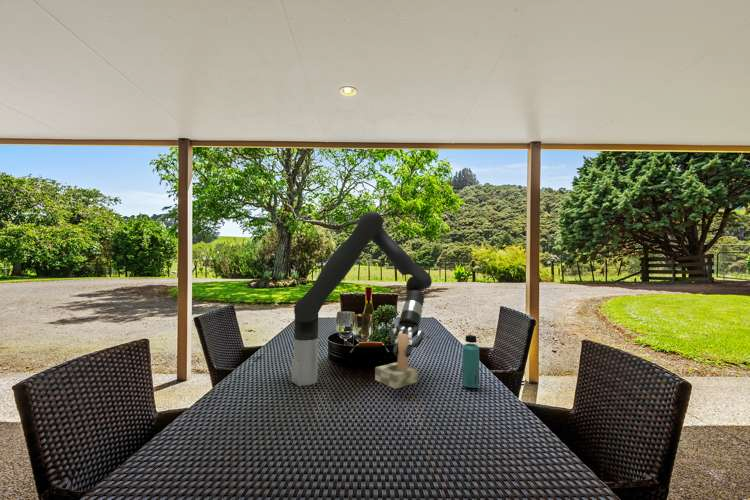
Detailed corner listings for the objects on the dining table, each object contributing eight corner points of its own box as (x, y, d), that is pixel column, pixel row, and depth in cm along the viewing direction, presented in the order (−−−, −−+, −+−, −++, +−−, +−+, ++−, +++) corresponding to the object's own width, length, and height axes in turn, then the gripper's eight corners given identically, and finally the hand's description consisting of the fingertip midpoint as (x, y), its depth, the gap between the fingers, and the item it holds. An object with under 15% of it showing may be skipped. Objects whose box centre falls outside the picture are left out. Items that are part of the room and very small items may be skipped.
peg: (402, 370, 129) (403, 336, 129) (395, 368, 132) (396, 334, 132) (409, 368, 131) (410, 335, 131) (402, 366, 134) (403, 333, 134)
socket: (395, 388, 139) (395, 375, 139) (375, 379, 148) (375, 367, 148) (417, 381, 146) (417, 368, 146) (397, 373, 156) (397, 361, 156)
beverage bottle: (475, 393, 136) (476, 338, 136) (458, 388, 140) (459, 335, 140) (482, 388, 141) (482, 335, 141) (465, 383, 145) (466, 332, 145)
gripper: (391, 307, 141) (379, 347, 129) (428, 310, 136) (419, 352, 125) (395, 319, 146) (384, 358, 135) (430, 322, 141) (422, 363, 130)
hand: (401, 355), depth 130 cm, fingers closed on peg, 3 cm apart
